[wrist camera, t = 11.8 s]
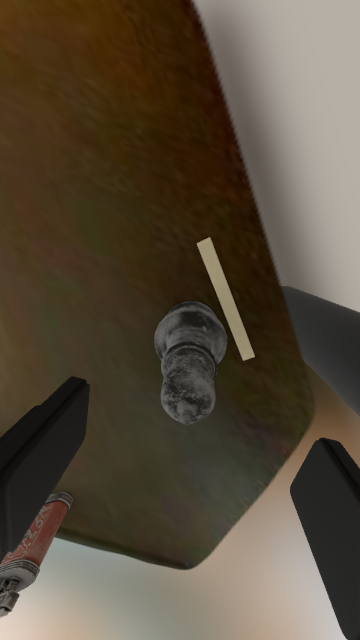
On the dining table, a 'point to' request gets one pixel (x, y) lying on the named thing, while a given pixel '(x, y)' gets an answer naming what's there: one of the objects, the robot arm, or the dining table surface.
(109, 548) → the dining table surface
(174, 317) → the dark grey chess piece
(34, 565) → the lighter
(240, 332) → the beige long thin bar
